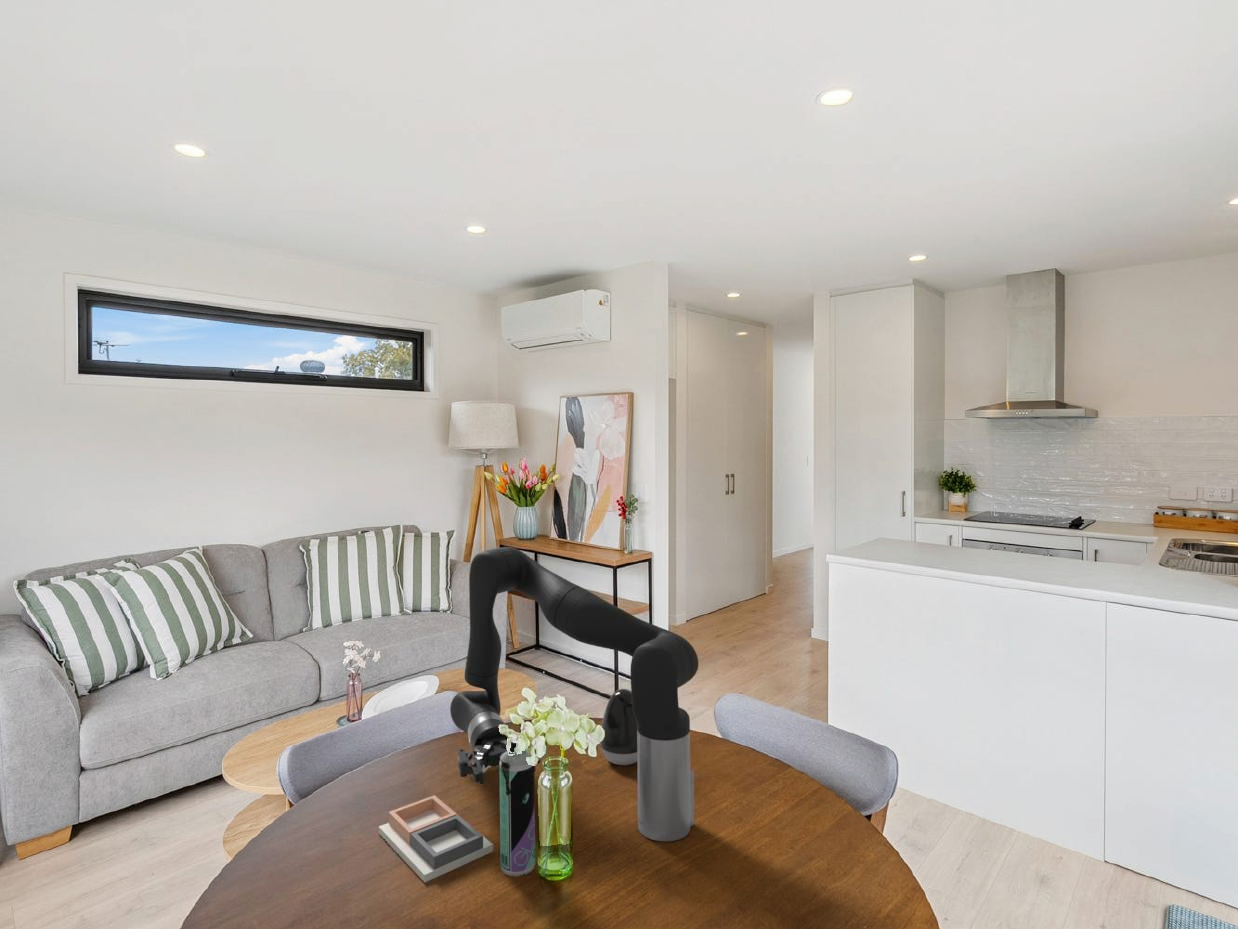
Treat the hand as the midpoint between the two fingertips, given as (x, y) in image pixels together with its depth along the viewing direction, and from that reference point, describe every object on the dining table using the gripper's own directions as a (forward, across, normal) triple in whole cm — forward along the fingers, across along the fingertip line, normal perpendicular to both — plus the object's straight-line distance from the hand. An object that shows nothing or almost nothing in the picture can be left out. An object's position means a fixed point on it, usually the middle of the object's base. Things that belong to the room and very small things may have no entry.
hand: (506, 774), depth 114 cm
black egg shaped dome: (-20, +29, +11) cm, 37 cm away
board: (-4, -12, +11) cm, 17 cm away
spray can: (+8, 0, +11) cm, 14 cm away
